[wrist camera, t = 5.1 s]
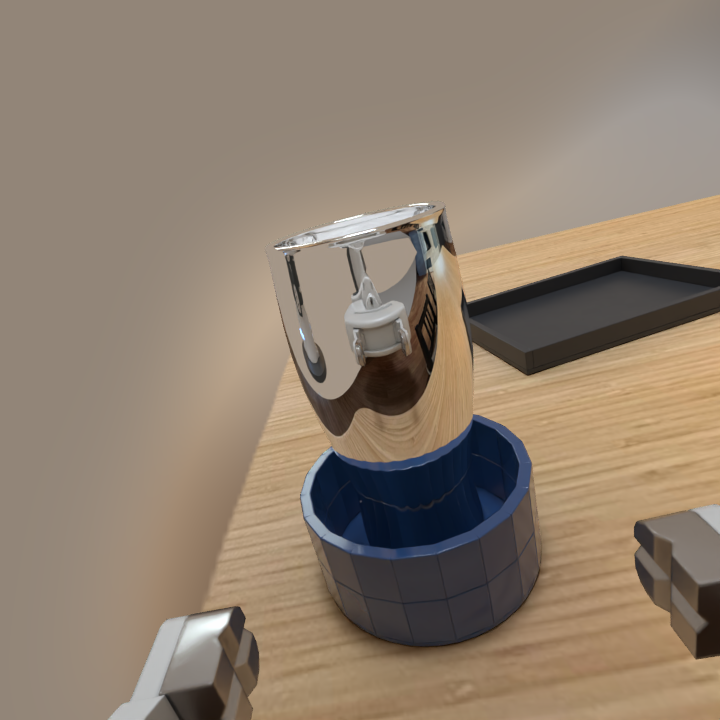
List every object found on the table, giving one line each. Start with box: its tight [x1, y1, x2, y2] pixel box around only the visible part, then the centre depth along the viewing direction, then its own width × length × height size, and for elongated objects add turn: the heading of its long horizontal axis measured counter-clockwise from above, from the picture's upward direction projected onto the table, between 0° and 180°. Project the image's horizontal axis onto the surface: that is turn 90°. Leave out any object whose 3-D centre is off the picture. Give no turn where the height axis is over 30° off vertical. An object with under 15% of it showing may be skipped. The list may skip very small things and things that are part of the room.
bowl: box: [300, 414, 541, 646], centre depth 21 cm, size 10×10×4 cm
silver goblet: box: [265, 201, 488, 549], centre depth 19 cm, size 7×7×15 cm
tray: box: [467, 256, 720, 375], centre depth 43 cm, size 21×15×2 cm
